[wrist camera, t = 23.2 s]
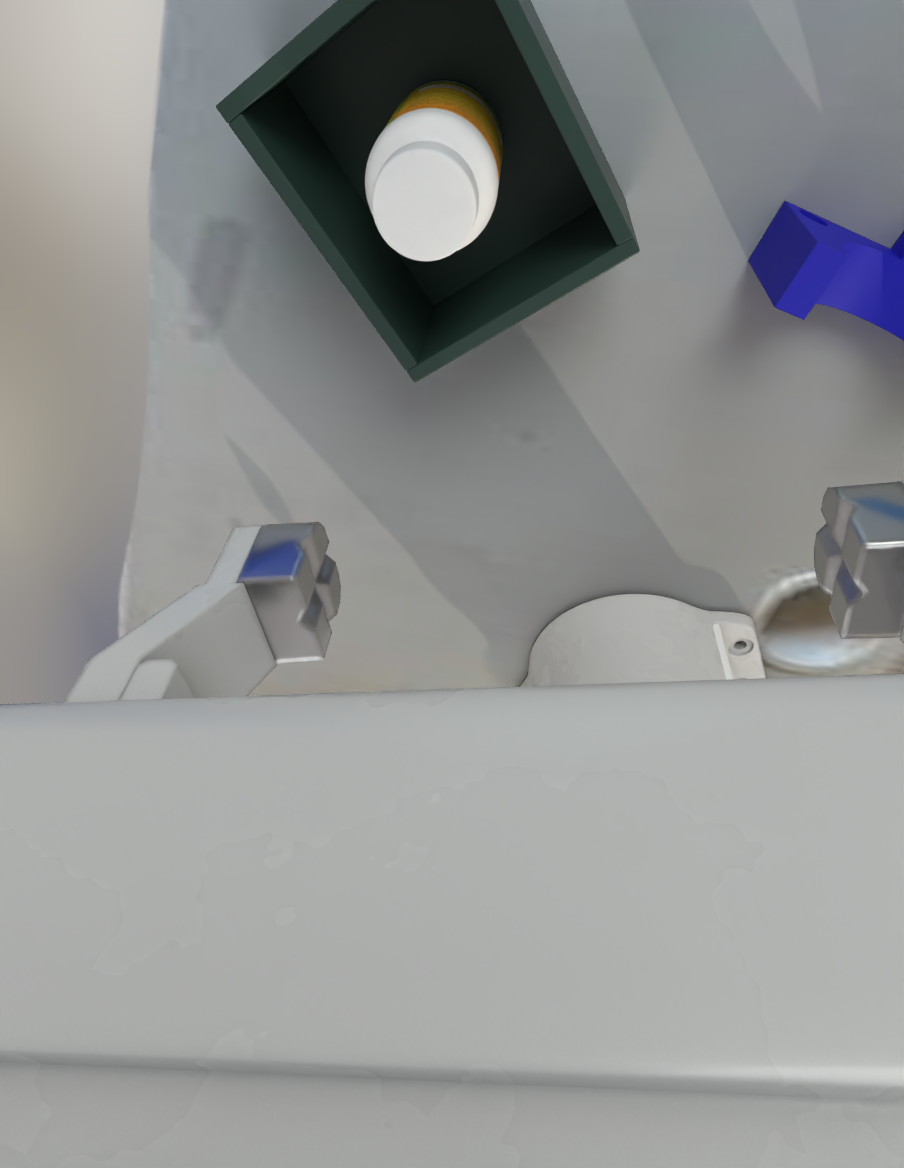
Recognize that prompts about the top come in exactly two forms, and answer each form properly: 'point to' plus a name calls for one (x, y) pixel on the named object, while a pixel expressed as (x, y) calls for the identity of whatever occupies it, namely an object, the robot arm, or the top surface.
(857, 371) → the top surface
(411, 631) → the top surface
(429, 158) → the supplement bottle
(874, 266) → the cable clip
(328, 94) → the bin
